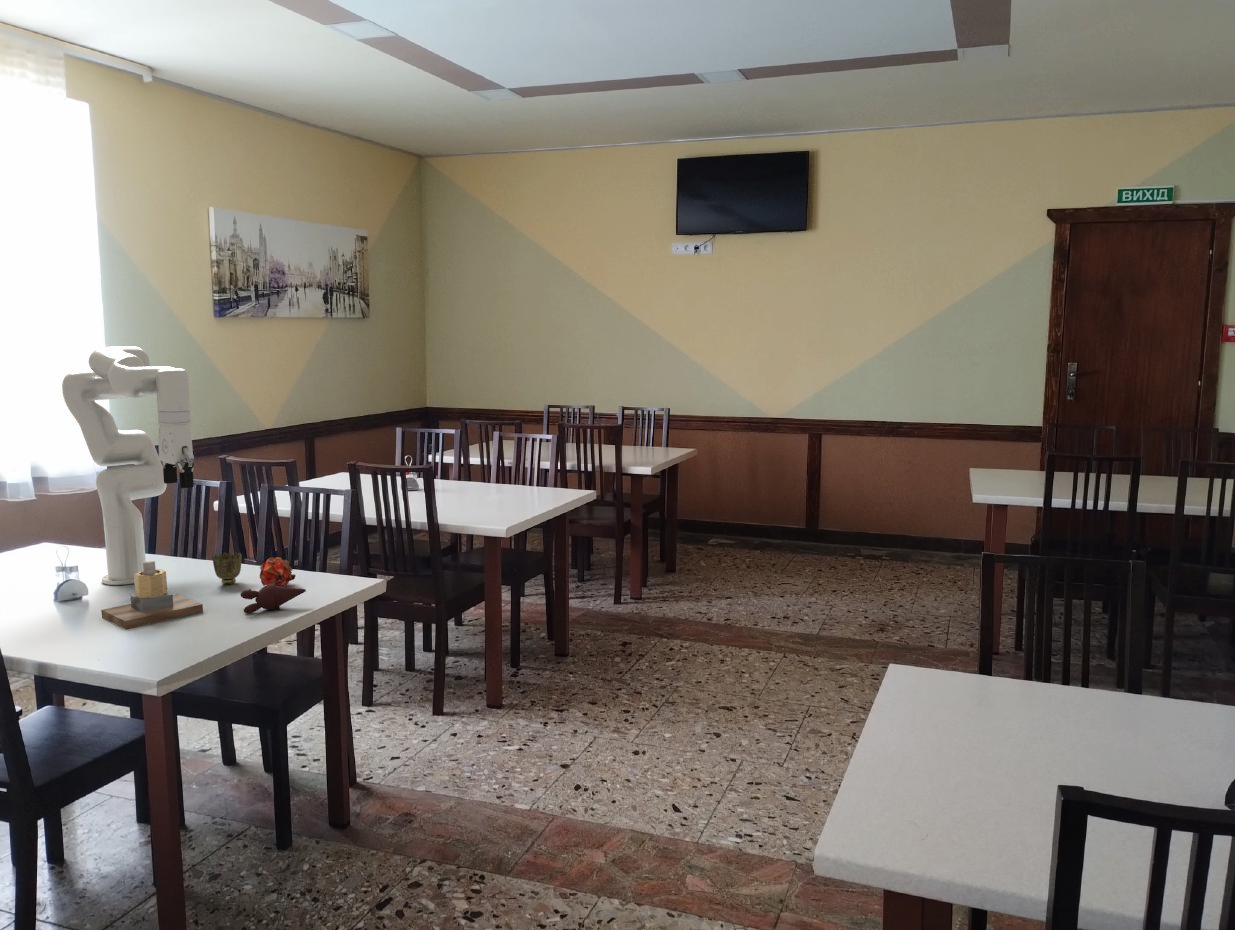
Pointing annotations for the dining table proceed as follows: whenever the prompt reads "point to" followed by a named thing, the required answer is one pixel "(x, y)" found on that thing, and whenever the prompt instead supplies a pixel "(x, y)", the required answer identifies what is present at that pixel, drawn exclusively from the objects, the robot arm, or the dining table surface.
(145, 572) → the shaft stand
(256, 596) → the icecream
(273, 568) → the dragon fruit
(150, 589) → the hub
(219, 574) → the cup
